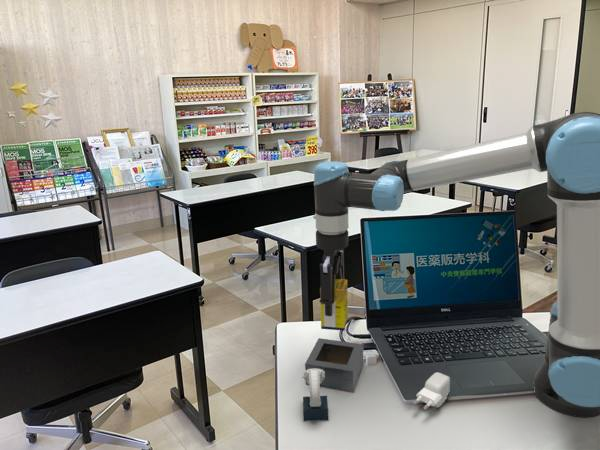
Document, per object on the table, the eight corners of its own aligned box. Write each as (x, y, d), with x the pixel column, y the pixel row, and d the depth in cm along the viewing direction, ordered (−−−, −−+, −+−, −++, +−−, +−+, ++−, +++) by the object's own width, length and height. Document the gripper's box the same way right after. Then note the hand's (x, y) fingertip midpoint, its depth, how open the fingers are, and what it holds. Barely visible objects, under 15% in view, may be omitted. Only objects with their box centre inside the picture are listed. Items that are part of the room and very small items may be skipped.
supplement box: (345, 331, 113) (344, 289, 110) (320, 329, 114) (319, 288, 111) (348, 318, 119) (347, 279, 115) (324, 317, 120) (323, 277, 116)
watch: (326, 401, 111) (325, 361, 108) (328, 425, 103) (327, 383, 100) (303, 402, 111) (301, 361, 108) (303, 426, 103) (301, 384, 100)
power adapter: (428, 424, 102) (429, 401, 101) (408, 414, 106) (409, 392, 104) (452, 398, 110) (453, 376, 108) (433, 389, 113) (434, 368, 112)
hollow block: (363, 364, 124) (363, 344, 122) (353, 392, 114) (353, 371, 112) (319, 357, 128) (318, 338, 126) (306, 384, 117) (305, 363, 115)
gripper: (327, 216, 119) (329, 299, 126) (303, 242, 101) (307, 337, 108) (356, 218, 116) (356, 302, 123) (337, 245, 99) (339, 341, 106)
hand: (333, 318), depth 116 cm, fingers closed on supplement box, 6 cm apart
